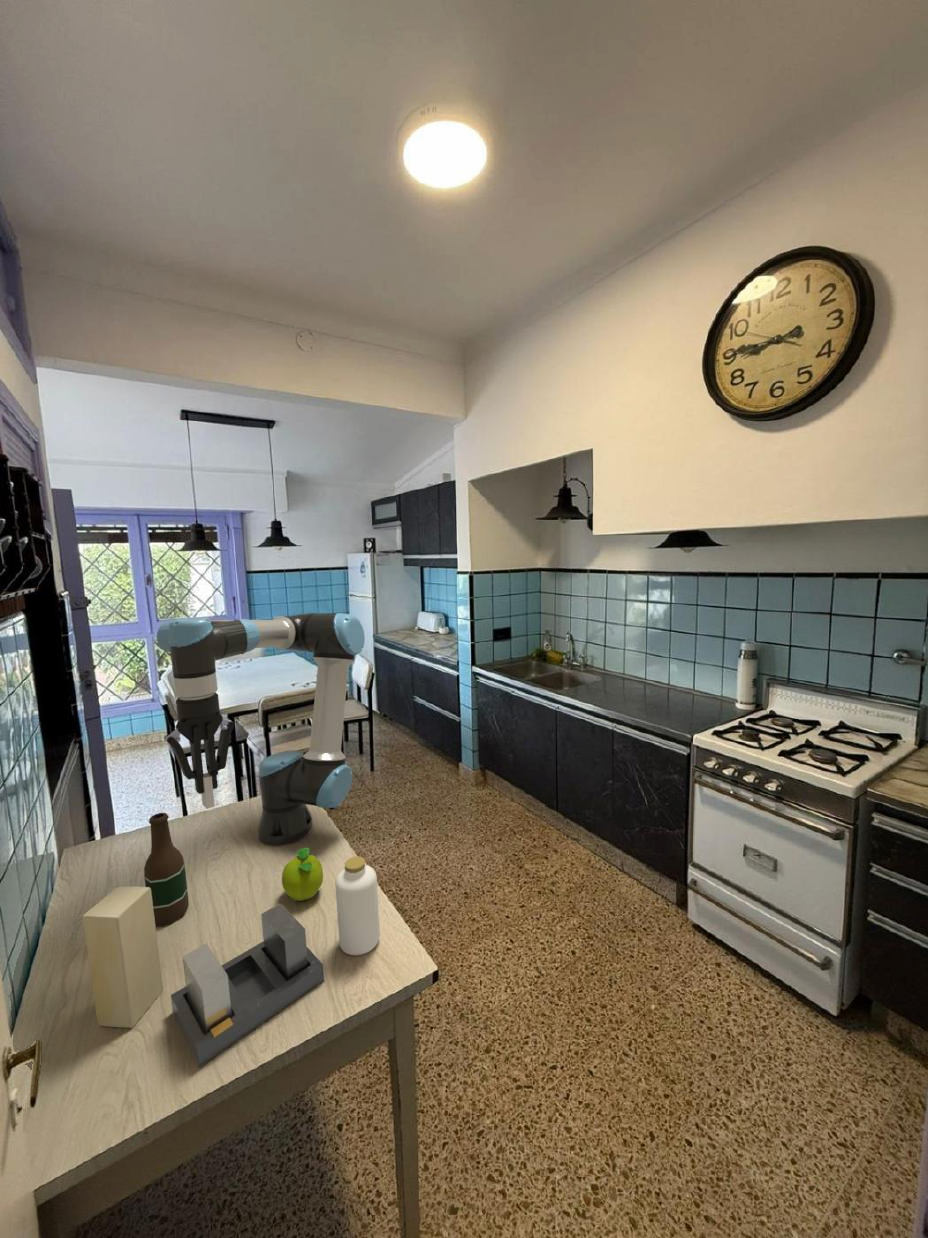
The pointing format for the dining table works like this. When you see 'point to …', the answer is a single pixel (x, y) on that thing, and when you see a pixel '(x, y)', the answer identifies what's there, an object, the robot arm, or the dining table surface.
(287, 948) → the rack
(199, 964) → the silver rectangular block
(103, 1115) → the dining table surface
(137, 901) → the cream tall block
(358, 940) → the potion bottle
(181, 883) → the beer bottle
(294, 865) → the fruit
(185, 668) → the robot arm
